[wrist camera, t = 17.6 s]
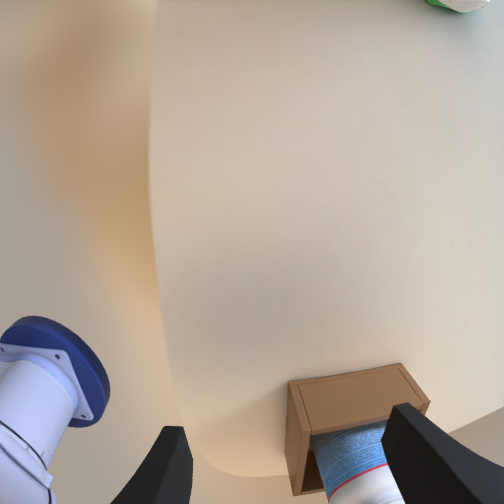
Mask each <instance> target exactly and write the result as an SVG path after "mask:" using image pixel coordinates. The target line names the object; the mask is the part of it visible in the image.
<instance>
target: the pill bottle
mask: <svg viewBox="0 0 504 504" xmlns="http://www.w3.org/2000/svg"><path fill="white" fill-rule="evenodd" d="M386 425H387V420H383V421H379V422H375V423H371V424H367V425H362V426H358V427H353V428H349V429H344V430H339V431H333V432H328V433H322V434H316V435H310V442H311V445H312V449H313V452H314V455H315V459H316V462H317V465H318V468H319V472H320V475H321V479H322V482H323V486H324V489H325V492H326V495H327V499H328V503H329V504H405V502H404V500H403V498H402V496H401V493H400V491H399V489H398V487H397V484H396V482H395V480H394V478H393V475H392V473H391V471H390V469H389V466H388V464H387V461H386V458H385V454H384V451H383V447H382V444H381V438H382V435H383V433H384V430H385V427H386Z"/></svg>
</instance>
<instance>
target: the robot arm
mask: <svg viewBox="0 0 504 504" xmlns="http://www.w3.org/2000/svg"><path fill="white" fill-rule="evenodd" d="M58 355H59V356H58ZM93 417H94V416H93V413H92V411H91V409H90V407H89V405H88V403H87V400H86V398H85V396H84V394H83V391H82V389H81V387H80V384H79V382H78V379H77V377H76V374H75V372H74V369H73V367H72V364H71V361H70V359H69V356H68V354H67V353H66V352H65V351H63V350H56V349H45V348H35V347H27V346H18V345H11V344H4V343H0V504H57V499H56V495H55V493H54V491H53V490H52V489H51V488H50V484H51V482H52V480H53V477H52V476H51V475H50V474H49V473H48V472H47V469H48V467H49V465H50V462H51V460H52V458H53V456H54V454H55V451H56V449H57V447H58V445H59V443H60V440H61V438H62V436H63V434H64V432H65V430H66V428H67V426H68V424H69V422H70V420H71V418H77V419H83V420H93ZM381 444H382V447H383V451H384V454H385V458H386V461H387V464H388V466H389V469H390V471H391V473H392V475H393V478H394V480H395V482H396V484H397V487H398V489H399V491H400V493H401V496H402V498H403V500H404V502H405V504H504V467H502V466H500V465H497V464H495V463H493V462H491V461H489V460H487V459H485V458H483V457H481V456H479V455H478V454H476V453H474V452H473V451H471V450H470V449H468V448H466V447H465V446H463V445H462V444H460V443H459V442H458V441H456V440H455V439H453V438H452V437H451V436H449V435H448V434H447V433H445V432H444V431H443V430H441V429H440V428H439V427H438V426H436V425H435V424H434V423H433V422H431V421H430V420H429V419H428V418H427V417H425V416H424V415H423V414H422V413H421V412H419V411H418V410H417V409H416V408H415V407H413V406H412V405H411V404H410V403H408V402H406V403H402V404H398V405H394V406H393V408H392V411H391V414H390V416H389V419H388V422H387V425H386V427H385V430H384V433H383V435H382V438H381ZM192 477H193V458H192V454H191V452H190V448H189V445H188V442H187V438H186V435H185V431H184V428H183V427H180V426H165V427H163V429H162V430H161V432H160V434H159V436H158V438H157V440H156V441H155V443H154V445H153V446H152V448H151V450H150V451H149V453H148V454H147V456H146V458H145V459H144V461H143V462H142V464H141V465H140V467H139V468H138V470H137V471H136V472H135V474H134V476H133V477H132V478H131V479H130V481H129V482H128V483H127V484H126V486H125V487H124V488H123V489H122V491H121V492H120V493H119V494H118V495H117V497H116V498H115V499H114V500H113V501H112V502H111V503H110V504H189V501H190V495H191V489H192Z"/></svg>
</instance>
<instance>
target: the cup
mask: <svg viewBox="0 0 504 504" xmlns="http://www.w3.org/2000/svg"><path fill="white" fill-rule="evenodd" d="M426 1H428V2H429V3H430V4H432V5H438V6H443V7H446V8H450V9H453V10H456V11H457V12H459V13H461V14H466V13H469V12H473V11H475V10H477V9H479V8H482V7H484V6H485V5H486V4H487V3H488V2H489V1H490V0H426Z"/></svg>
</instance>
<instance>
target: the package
mask: <svg viewBox="0 0 504 504" xmlns="http://www.w3.org/2000/svg"><path fill="white" fill-rule="evenodd" d="M406 402H408V403H410V404H411V405H412V406H413V407H415V408H416V409H417V410H418V411H419V412H421V413H422V414H423V415H424V416H425V413H426V411H427V409H428V406H429V404H430V400H429V399H428V398H427V396H426V395H425V394H424V392H423V391H422V390H421V388H420V387H419V386H418V384H417V383H416V382H415V380H414V379H413V378H412V376H411V375H410V374H409V373H408V371H407V370H406V369H405V367H404V366H403V365H402V364H401V363H398V364H393V365H389V366H384V367H379V368H374V369H369V370H364V371H358V372H353V373H347V374H341V375H334V376H328V377H321V378H314V379H306V380H298V381H289V382H288V400H287V422H286V440H285V457H286V462H287V467H288V472H289V477H290V482H291V487H292V492H293V496H298V495H306V494H311V493H317V492H323V491H325V489H324V486H323V482H322V479H321V475H320V472H319V468H318V465H317V462H316V459H315V455H314V452H313V449H312V445H311V442H310V435H316V434H322V433H328V432H333V431H339V430H344V429H349V428H353V427H358V426H362V425H367V424H371V423H375V422H379V421H383V420H387V422H388V419H389V416H390V414H391V411H392V408H393V406H394V405H398V404H402V403H406Z"/></svg>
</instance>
